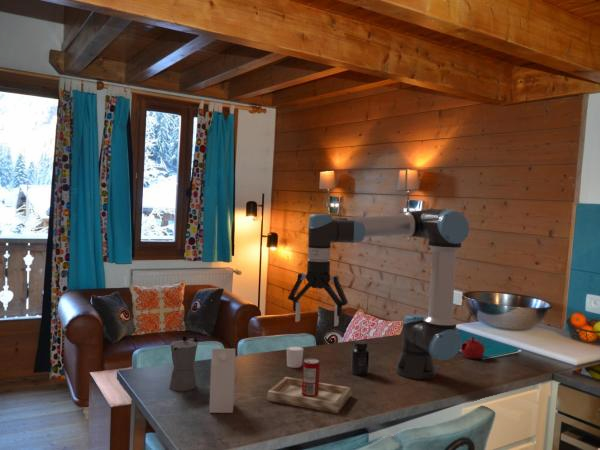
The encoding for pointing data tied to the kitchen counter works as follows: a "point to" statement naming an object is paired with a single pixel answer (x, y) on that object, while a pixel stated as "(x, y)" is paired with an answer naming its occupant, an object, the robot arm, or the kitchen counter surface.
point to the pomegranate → (472, 349)
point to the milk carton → (222, 380)
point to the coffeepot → (183, 364)
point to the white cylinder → (294, 356)
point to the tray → (326, 400)
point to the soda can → (310, 378)
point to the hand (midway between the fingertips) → (316, 323)
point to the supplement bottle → (360, 359)
